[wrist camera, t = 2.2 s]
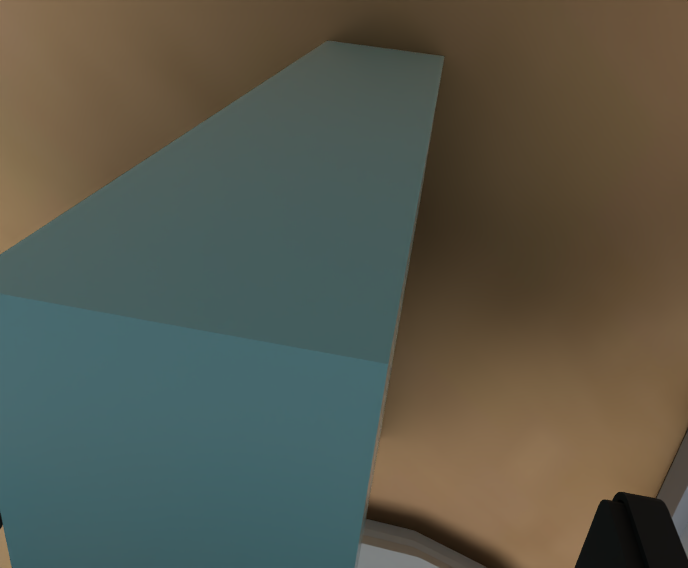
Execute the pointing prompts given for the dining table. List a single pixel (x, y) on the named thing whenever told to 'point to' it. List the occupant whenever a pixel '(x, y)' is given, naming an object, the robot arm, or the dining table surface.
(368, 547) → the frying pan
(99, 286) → the teal upright slab
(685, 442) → the dish rack
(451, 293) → the dining table surface
